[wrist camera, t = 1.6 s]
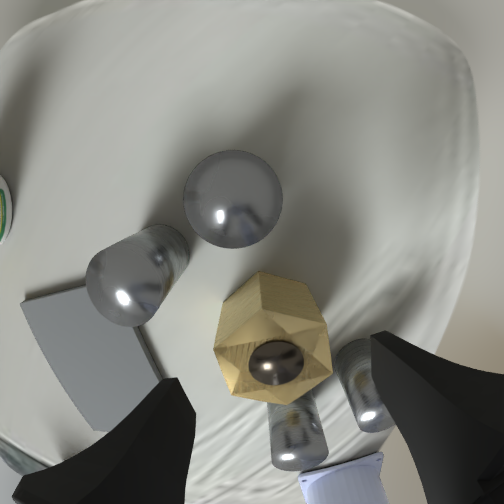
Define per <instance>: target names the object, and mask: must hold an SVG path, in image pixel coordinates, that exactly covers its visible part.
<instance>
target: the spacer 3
mask: <svg viewBox="0 0 504 504" xmlns="http://www.w3.org/2000/svg"><path fill="white" fill-rule="evenodd" d="M267 407H268V419H269V432H270V445H271V458H272V464H273V465H274V466H275V467H276V468H278V469H281V470H285V471H301V470H306V469H309V468H312V467H315V466H317V465H319V464H320V463H322V462H323V461H324V460H325V459H326V458H327V456H328V454H329V451H328V447H327V443H326V440H325V436H324V432H323V429H322V425H321V421H320V418H319V414H318V410H317V407H316V403H315V399H314V396H313V392H312V390H311V389H310V390H309V391H308V392H306V393H305V394H303V395H302V396H300V397H299V398H297V399H296V400H294V401H293V402H291V403H290V404H288V405H283V404H276V403H270V402H267Z"/></svg>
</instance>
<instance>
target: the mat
mask: <svg viewBox="0 0 504 504" xmlns="http://www.w3.org/2000/svg"><path fill="white" fill-rule="evenodd" d="M20 306H21V308H22V310H23V313H24V315H25V317H26V320H27V322H28V324H29V326H30V328H31V330H32V333H33V335H34V337H35V339H36V341H37V343H38V345H39V347H40V348H41V350H42V352H43V354H44V356H45V358H46V360H47V361H48V363H49V365H50V367H51V368H52V370H53V372H54V374H55V375H56V377H57V379H58V380H59V382H60V383H61V385H62V387H63V388H64V390H65V391H66V393H67V394H68V396H69V397H70V399H71V400H72V402H73V403H74V405H75V406H76V407H77V409H78V410H79V412H80V413H81V414H82V416H83V417H84V418H85V420H86V421H87V422H88V424H89V425H90V426H91V428H92V429H93V430H94V431H104V432H110V431H111V430H112V429H113V428H114V427H116V426H117V425H118V424H119V423H120V422H121V421H122V420H123V419H124V418H125V417H126V416H127V415H128V414H129V413H130V412H131V411H132V410H133V409H134V408H135V407H136V406H137V405H138V404H139V403H140V402H141V401H142V400H143V399H144V398H145V397H146V396H147V395H148V394H149V392H150V391H151V390H152V389H153V388H154V387H155V386H156V385H157V384H158V383H159V382H160V381H161V380H162V377H161V375H160V373H159V371H158V369H157V367H156V365H155V363H154V361H153V359H152V357H151V355H150V352H149V350H148V348H147V346H146V344H145V342H144V339H143V337H142V335H141V333H140V330H139V328H138V326H136V327H125V326H120V325H117V324H115V323H112V322H111V321H109V320H107V319H106V318H105V317H104V316H102V315H101V314H100V313H99V312H98V310H97V309H96V308H95V306H94V305H93V303H92V302H91V299H90V297H89V295H88V292H87V287H86V285H83V286H79V287H75V288H71V289H67V290H63V291H59V292H55V293H52V294H48V295H44V296H40V297H36V298H32V299H29V300H25V301H23V302H22V303H20Z"/></svg>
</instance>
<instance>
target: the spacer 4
mask: <svg viewBox="0 0 504 504" xmlns="http://www.w3.org/2000/svg"><path fill="white" fill-rule="evenodd" d="M334 367H335V370H336V373H337V375H338V377H339V380H340V382H341V384H342V387H343V389H344V392H345V394H346V397H347V399H348V401H349V404H350V406H351V409H352V411H353V414H354V416H355V419H356V421H357V424H358V426H359V428H360V429H361V430H362V431H364V432H368V433H374V432H379V431H383V430H385V429H388V428H390V427H392V426H393V425H395V422H394V420H393V419H392V417H391V415H390V413H389V412H388V410H387V408H386V407H385V405H384V403H383V402H382V400H381V398H380V396H379V394H378V391H377V389H376V387H375V384H374V382H373V379H372V377H371V340H368V339H358V340H355V341H352V342H350V343H349V344H347V345H346V346H344V347H343V348H342V349H341V350H340V351H339V353H338V354H337V356H336V358H335V362H334Z"/></svg>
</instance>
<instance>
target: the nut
mask: <svg viewBox="0 0 504 504" xmlns="http://www.w3.org/2000/svg"><path fill="white" fill-rule="evenodd" d="M213 350H214V352H215V355H216V358H217V360H218V363H219V365H220V368H221V371H222V373H223V376H224V378H225V381H226V383H227V386H228V388H229V390H230V393H231V395H233V396H238V397H243V398H248V399H253V400H259V401H264V402H270V403H276V404H283V405H288V404H290V403H291V402H293V401H294V400H296V399H297V398H299V397H300V396H302V395H303V394H305V393H306V392H308V391H309V390H310V389H312V388H313V387H315V386H316V385H318V384H319V383H320V382H322V381H323V380H325V379H326V378H327V377H329V376H330V375H331V374H333V370H332V362H331V353H330V346H329V338H328V331H327V324H326V322H325V320H324V318H323V316H322V314H321V312H320V311H319V309H318V307H317V305H316V303H315V301H314V299H313V297H312V295H311V293H310V291H309V289H308V288H307V286H306V284H304V283H301V282H297V281H293V280H289V279H286V278H282V277H278V276H275V275H271V274H267V273H264V272H260V271H258V272H257V273H256V274H255V275H253V276H252V277H251V278H250V279H249V280H248V281H247V282H246V283H245V284H243V285H242V286H241V287H240V288H239V289H238V290H237V291H236V292H235V293H233V294H232V295H231V296H230V297H229V298H228V299H227V300H226V301H225V302H223V305H222V310H221V314H220V319H219V324H218V329H217V334H216V338H215V343H214V348H213Z"/></svg>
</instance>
